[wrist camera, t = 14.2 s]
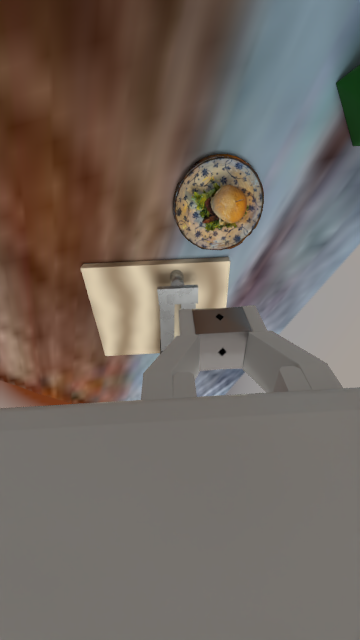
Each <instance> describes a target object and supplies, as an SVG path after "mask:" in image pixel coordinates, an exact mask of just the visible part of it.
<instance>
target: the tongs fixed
mask: <svg viewBox="0 0 360 640" xmlns="http://www.w3.org/2000/svg"><path fill="white" fill-rule="evenodd" d="M157 291H158V301H159V305H175V304H180V306H181V309H191V310H192V309H196V303H198V285H184V277H183V273H182V272H181V271H180V270H174V271H172V272H171V274H170V286H160V287H157Z"/></svg>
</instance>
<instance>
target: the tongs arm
mask: <svg viewBox="0 0 360 640" xmlns="http://www.w3.org/2000/svg"><path fill="white" fill-rule="evenodd" d="M174 311H175V305H160V330H161V339H160V354H161V353H162V352H163V351H164V350H165V348H166V347H167V346H168V345H169V344H170V343H171V342H172V341H173V339H174Z"/></svg>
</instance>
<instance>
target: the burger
mask: <svg viewBox="0 0 360 640" xmlns="http://www.w3.org/2000/svg"><path fill="white" fill-rule="evenodd" d="M196 163H197V164H196ZM196 163H195V164H194V166H192V168H191V169H189V172H188V173H187V175H186V176H185V178H184V179H183V181H182V183H181V184H180V183H178V186H177V188H176V191H175V196H174V218H175V221H176V223H177V225H178V227H179V229H180V231H181V233H182V234H183V235H184V237H185V238H186V239H187V240H188V241H190V242H191V243H193V244H194V245H196V246H198V247H199V248H201V249H210V250H223V249H231V248H234V247H236V246H238V245H239V244H241V243H242V242H243V240H244V239H245V238H246V237H247V236H248V235H250V234H251V233H252V230H253V229H255V228H256V226H257V224H258V222H259V220H260V217H261V213H262V211H263V209H262V208H263V204H264V192H263V187H262V184H261V182H260V179H259V177H258V175H257V173H256V172H255V171H254V170H253V168H252V167H251V166H250V165H249V164H248V163H246V162H245V161H243V160H242V159H240V158H238V157H236V156H232V155H228V154H216V155H211V156H207V157H205V158H203V159H201V160H199V161H198V162H196Z"/></svg>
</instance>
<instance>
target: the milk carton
mask: <svg viewBox="0 0 360 640" xmlns="http://www.w3.org/2000/svg"><path fill="white" fill-rule="evenodd" d="M336 85H337V88H338V92H339V96H340V99H341V103H342V107H343V111H344V114H345V118H346V122H347V125H348V129H349V133H350V136H351V140H352V144H353V146H360V65H358V66H357V67H356V68H355V69H353V70H352V71H351V72H350V73H348V74H347V75H346V76H345V77H343V78H342V79H341V80H339V81H338V82H337V83H336Z"/></svg>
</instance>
